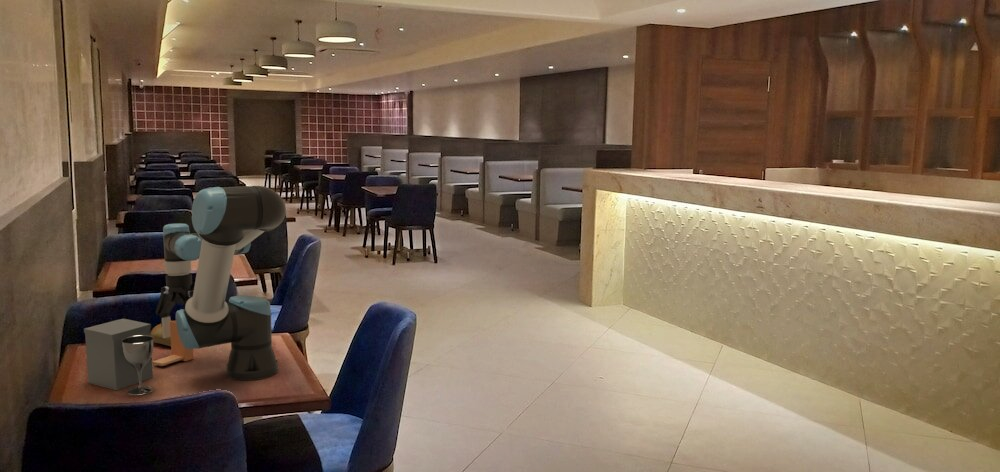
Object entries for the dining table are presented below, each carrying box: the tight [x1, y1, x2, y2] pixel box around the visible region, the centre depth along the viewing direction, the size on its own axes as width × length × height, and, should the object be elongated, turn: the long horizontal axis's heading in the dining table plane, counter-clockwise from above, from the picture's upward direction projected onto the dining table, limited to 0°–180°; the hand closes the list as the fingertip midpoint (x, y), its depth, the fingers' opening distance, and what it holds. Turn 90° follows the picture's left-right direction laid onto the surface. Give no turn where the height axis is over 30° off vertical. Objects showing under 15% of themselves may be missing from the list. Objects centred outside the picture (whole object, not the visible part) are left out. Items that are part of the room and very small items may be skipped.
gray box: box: [83, 318, 154, 391], centre depth 221 cm, size 12×13×16 cm
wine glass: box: [122, 335, 155, 396], centre depth 213 cm, size 8×8×15 cm
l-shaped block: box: [152, 319, 194, 367], centre depth 237 cm, size 6×11×12 cm, turn 153°
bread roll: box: [150, 323, 171, 347], centre depth 256 cm, size 10×15×8 cm, turn 68°
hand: (182, 339), depth 240 cm, fingers open, 13 cm apart
